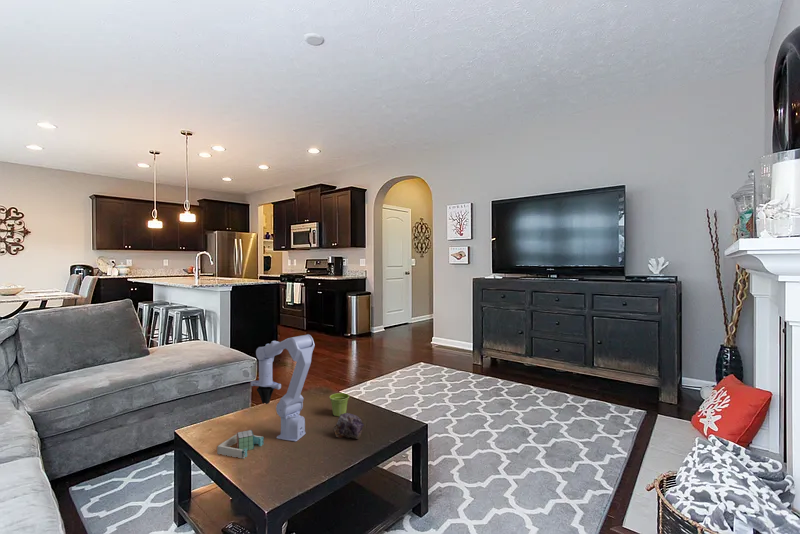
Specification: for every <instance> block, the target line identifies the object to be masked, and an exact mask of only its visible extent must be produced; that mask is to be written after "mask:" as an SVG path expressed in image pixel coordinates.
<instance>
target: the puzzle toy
mask: <svg viewBox="0 0 800 534" xmlns="http://www.w3.org/2000/svg"><path fill="white" fill-rule="evenodd" d="M236 434H237V443H236V448H237V449H242V450H244V449H245V448H247V451H251V450H254V448H255V444H254V435H255V434H254V432H253V430H252V429H249V430H243V431H239V432H236Z"/></svg>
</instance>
